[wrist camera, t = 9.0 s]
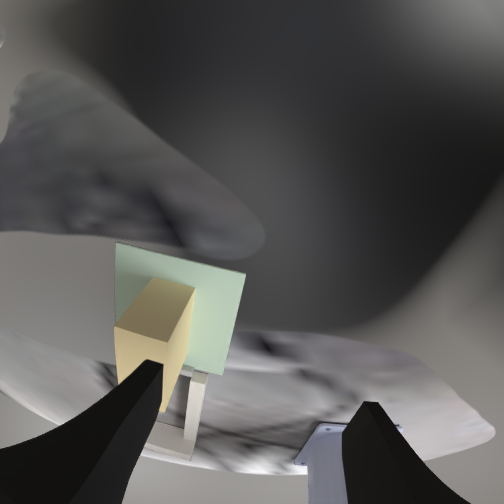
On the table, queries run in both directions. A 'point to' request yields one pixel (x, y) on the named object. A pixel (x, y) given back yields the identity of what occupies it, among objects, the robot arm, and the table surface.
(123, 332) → the tan rectangular block
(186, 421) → the dispenser
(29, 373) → the table surface
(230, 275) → the mat
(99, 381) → the table surface
